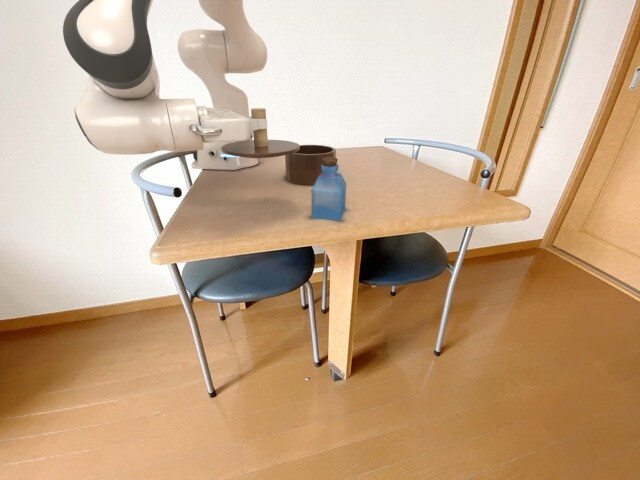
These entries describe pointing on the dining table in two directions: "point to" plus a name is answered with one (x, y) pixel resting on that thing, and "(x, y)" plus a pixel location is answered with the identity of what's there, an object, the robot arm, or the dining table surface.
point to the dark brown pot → (307, 163)
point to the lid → (260, 143)
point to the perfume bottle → (329, 192)
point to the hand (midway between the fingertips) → (263, 122)
